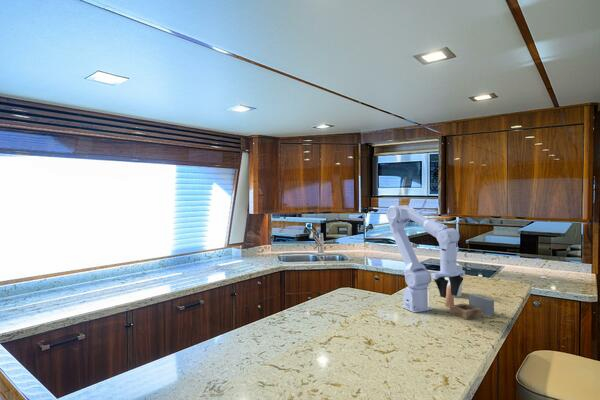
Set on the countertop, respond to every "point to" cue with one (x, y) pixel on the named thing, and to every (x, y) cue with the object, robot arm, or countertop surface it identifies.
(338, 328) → the countertop surface
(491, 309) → the backstop wall
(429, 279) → the robot arm
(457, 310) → the block
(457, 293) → the skincare box
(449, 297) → the dowel
